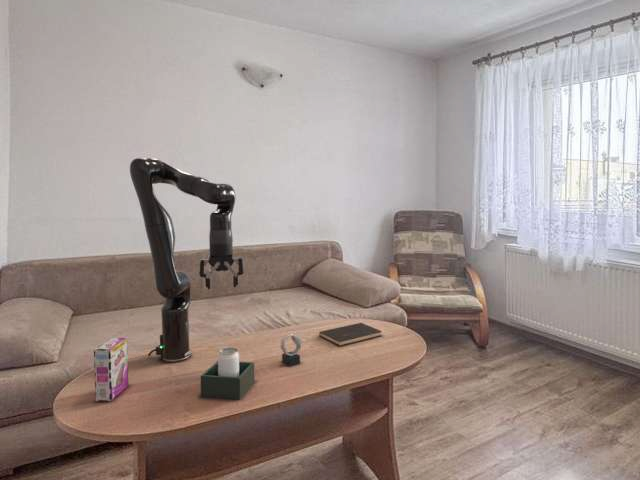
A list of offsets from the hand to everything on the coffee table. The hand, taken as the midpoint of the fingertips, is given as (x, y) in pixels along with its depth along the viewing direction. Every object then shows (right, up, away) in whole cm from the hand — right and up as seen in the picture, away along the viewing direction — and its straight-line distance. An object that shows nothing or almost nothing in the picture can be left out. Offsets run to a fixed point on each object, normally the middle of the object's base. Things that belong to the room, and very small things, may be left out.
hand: (221, 287), depth 153 cm
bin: (+6, -32, -11) cm, 34 cm away
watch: (+22, -30, +12) cm, 39 cm away
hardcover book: (+43, -26, +43) cm, 66 cm away
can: (+6, -31, -11) cm, 34 cm away
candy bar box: (-29, -32, -16) cm, 46 cm away
